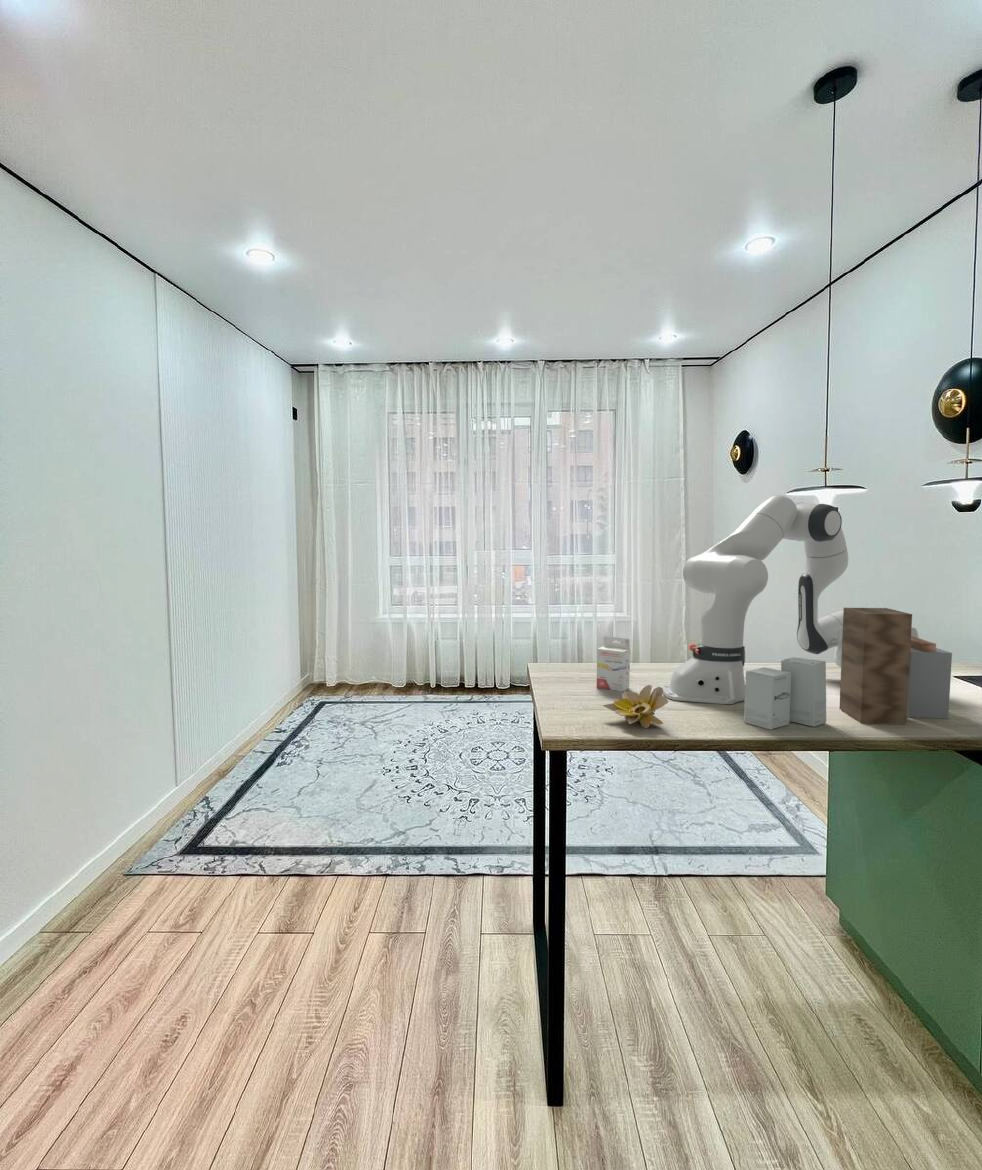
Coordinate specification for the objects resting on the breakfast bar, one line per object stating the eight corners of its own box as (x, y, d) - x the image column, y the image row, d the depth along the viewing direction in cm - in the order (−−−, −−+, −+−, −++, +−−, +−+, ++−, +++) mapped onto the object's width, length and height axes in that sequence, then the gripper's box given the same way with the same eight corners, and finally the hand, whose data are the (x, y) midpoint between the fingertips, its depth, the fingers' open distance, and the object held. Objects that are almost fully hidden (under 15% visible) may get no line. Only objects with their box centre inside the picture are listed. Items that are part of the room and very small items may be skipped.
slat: (922, 651, 151) (922, 643, 151) (882, 637, 170) (882, 630, 170) (935, 651, 150) (936, 643, 150) (894, 638, 170) (894, 630, 170)
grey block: (908, 717, 151) (911, 652, 150) (877, 700, 167) (880, 641, 165) (948, 718, 150) (952, 652, 149) (913, 701, 166) (916, 641, 164)
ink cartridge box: (595, 688, 181) (596, 638, 180) (602, 684, 186) (602, 635, 184) (623, 692, 177) (624, 640, 176) (630, 688, 181) (630, 638, 180)
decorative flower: (594, 707, 154) (604, 669, 154) (633, 714, 158) (643, 676, 157) (622, 730, 140) (634, 688, 139) (665, 737, 144) (676, 696, 143)
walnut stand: (860, 723, 147) (865, 613, 145) (839, 708, 159) (843, 607, 157) (906, 724, 145) (912, 614, 143) (881, 710, 157) (886, 608, 155)
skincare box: (826, 723, 147) (829, 661, 145) (812, 728, 143) (815, 664, 142) (792, 715, 154) (794, 655, 152) (778, 719, 150) (780, 658, 149)
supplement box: (771, 730, 142) (773, 676, 141) (742, 722, 148) (744, 670, 147) (790, 725, 146) (792, 672, 145) (762, 717, 152) (763, 666, 151)
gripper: (827, 633, 186) (845, 615, 173) (901, 634, 183) (925, 616, 171) (831, 653, 183) (849, 636, 171) (906, 654, 180) (930, 637, 168)
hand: (888, 626), depth 171 cm, fingers open, 8 cm apart
